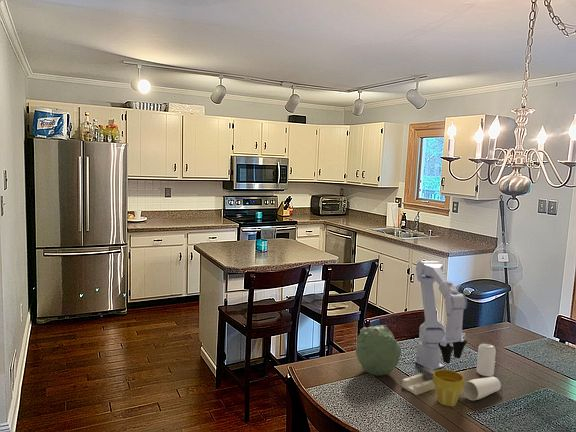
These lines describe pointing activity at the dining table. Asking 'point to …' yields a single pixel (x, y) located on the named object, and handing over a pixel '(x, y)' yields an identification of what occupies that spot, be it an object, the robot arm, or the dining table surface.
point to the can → (486, 359)
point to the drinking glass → (481, 387)
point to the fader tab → (427, 373)
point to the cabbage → (377, 350)
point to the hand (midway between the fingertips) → (451, 360)
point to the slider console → (417, 384)
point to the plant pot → (447, 386)
